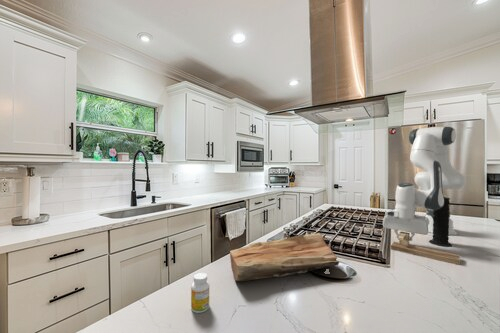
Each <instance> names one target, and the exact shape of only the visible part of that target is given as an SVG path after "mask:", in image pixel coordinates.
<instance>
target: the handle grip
mask: <svg viewBox="0 0 500 333" xmlns="http://www.w3.org/2000/svg"><path fill="white" fill-rule="evenodd" d="M447 197H448V196H446V197H444V205H443V207H441V208H440V209H438V210H435V211H434V210H433V211H434V212H433V222H434V223H433V233H432V239H429V241H428V243H430V244H432V245H434V246H438V247H444V248H452V247H453V244H452V243H450V242H449V237H450V235H448V234H449V231H448V230H449V225H448V224H449V211H450V205H451V203H450V202H449V200H450V201H451V199H450V197H448V198H447Z"/></svg>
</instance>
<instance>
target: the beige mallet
mask: <svg viewBox="0 0 500 333" xmlns="http://www.w3.org/2000/svg"><path fill="white" fill-rule="evenodd" d="M398 234H399V237H398V238H397V240H398V242H399V243H400V244H401V243H404V244H409V245H410V241H409V237H411V236H410V235H411V232H405V231H400V232H398Z"/></svg>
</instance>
